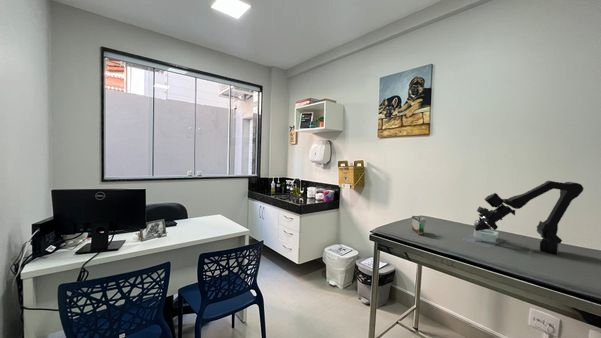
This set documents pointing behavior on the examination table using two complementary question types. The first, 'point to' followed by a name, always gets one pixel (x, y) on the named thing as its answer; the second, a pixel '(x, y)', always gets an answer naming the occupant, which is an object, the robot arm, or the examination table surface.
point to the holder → (489, 235)
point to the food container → (418, 225)
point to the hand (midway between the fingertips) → (474, 229)
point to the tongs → (477, 233)
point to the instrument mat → (483, 242)
